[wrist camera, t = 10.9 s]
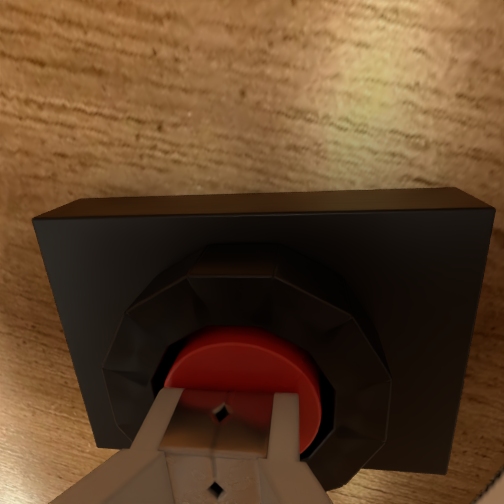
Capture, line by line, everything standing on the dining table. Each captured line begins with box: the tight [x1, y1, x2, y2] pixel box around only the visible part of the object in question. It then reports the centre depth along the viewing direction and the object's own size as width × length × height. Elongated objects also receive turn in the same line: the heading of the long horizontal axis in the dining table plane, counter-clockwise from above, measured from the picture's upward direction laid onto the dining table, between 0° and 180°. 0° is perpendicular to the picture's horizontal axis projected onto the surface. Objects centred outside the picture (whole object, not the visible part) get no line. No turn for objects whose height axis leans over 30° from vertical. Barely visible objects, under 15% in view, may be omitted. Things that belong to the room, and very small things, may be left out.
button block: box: [32, 188, 496, 492], centre depth 10 cm, size 11×8×4 cm
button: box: [163, 326, 322, 454], centre depth 9 cm, size 4×4×2 cm
